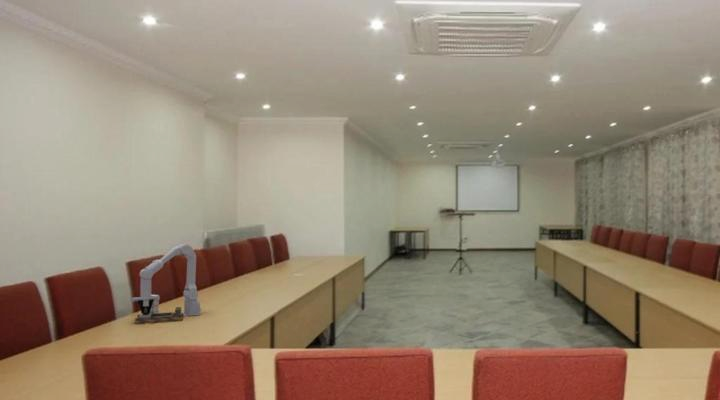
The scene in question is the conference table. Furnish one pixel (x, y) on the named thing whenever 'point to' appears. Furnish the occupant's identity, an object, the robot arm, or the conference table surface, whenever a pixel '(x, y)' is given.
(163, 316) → the board
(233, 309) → the conference table surface
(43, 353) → the conference table surface
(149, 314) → the carriage
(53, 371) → the conference table surface
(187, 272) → the robot arm
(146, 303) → the ink box
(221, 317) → the conference table surface
